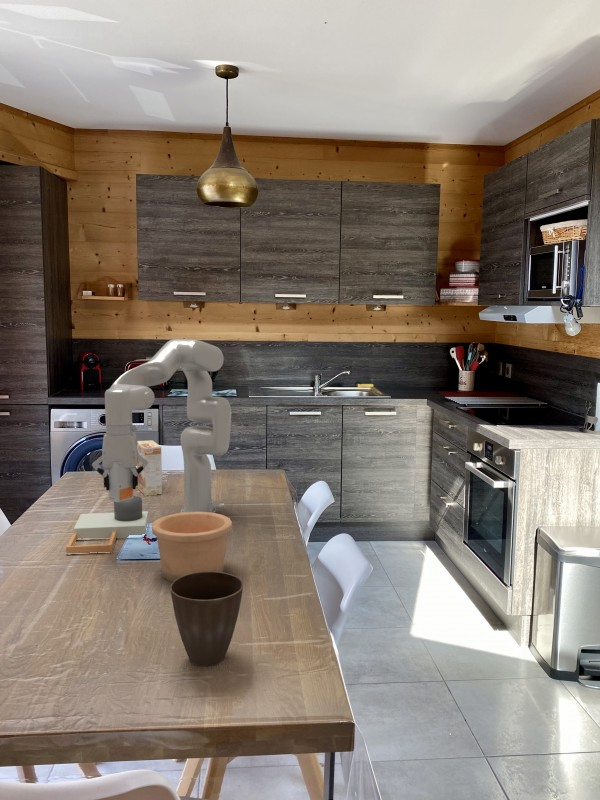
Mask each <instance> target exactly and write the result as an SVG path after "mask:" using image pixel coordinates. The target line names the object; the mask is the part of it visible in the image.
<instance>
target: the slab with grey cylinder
mask: <svg viewBox="0 0 600 800" xmlns="http://www.w3.org/2000/svg"><path fill="white" fill-rule="evenodd" d="M147 524H148V525H149V511H148V510H146V511H145V510H144V511H143V498H142V497H140V496H137V495H133V499H128V500H125V501H121V502H115V501H113V512H98V513H97V512H96V513H80V516H79V518H78V520H77V521H76V523H75V525H74V526H73V534H72V535H71V537H70V539H69V541H68V543H67V545H66V546H65V550H66V551H65V552H66V553H90V552H97V553H98V552H110V553H109V554H112V553H113V551H114V548H113V547H115V545H114V544H116V541H117V539H116V538H127V537H128V536H129V535H142V534H145V533H146V534H147V532H146V528H147V529H148V527H147ZM78 538H81V539H83V538H110V539H109V541H108V543H107V544H103V543H102V544H87V545H84V544H83V545H80V544H79V545H76V544H75V542H76V540H77V539H78ZM76 543H77V542H76ZM74 544H75V546H74ZM112 550H113V551H112ZM111 552H112V553H111Z"/></svg>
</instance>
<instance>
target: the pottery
mask: <svg viewBox="0 0 600 800" xmlns="http://www.w3.org/2000/svg"><path fill="white" fill-rule="evenodd" d="M232 529H233V522H232V520H231V518H230V517H228V516H226V515H224V514H220V513H217V512H216V513H211V512H184V513H180V512H178V513H177V512H176V513H173V514H169V515H165V516H162V517H160V518H157V519H156V520H154V522H153V523H152V524H151V532H152V535H154V536H155V537H156V541H157V548H158V552H159V553H158V554H159V560H160V566H161V571H162V572H161V573H162V577H163V578H164V579H166V580H167V582H171V583H173V582H174V581H175V580H176V579H178V578H180V577H182V576H184V575H188V574H191V573H197V572H223V573H224V564H225V558H226V553H227V551H226V550H227V544H228V536H229V535H228V534H229V533H230V532H231V530H232Z"/></svg>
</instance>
